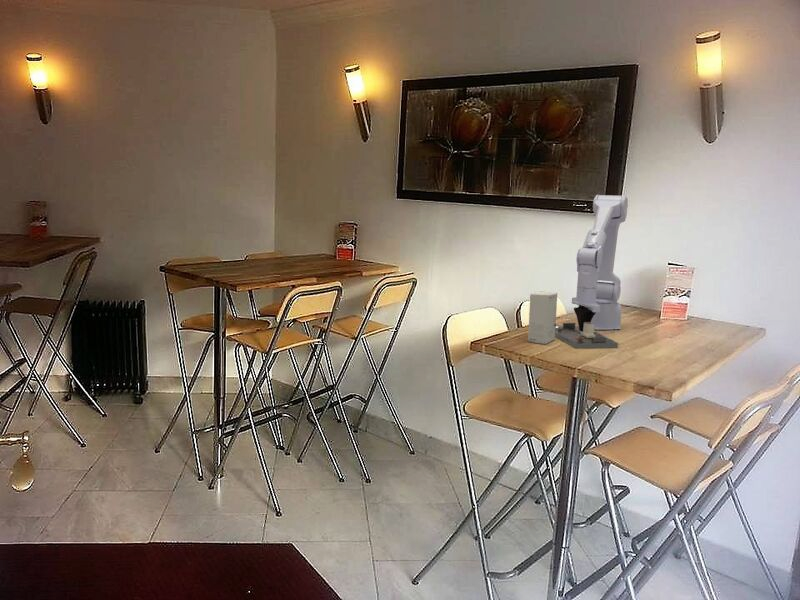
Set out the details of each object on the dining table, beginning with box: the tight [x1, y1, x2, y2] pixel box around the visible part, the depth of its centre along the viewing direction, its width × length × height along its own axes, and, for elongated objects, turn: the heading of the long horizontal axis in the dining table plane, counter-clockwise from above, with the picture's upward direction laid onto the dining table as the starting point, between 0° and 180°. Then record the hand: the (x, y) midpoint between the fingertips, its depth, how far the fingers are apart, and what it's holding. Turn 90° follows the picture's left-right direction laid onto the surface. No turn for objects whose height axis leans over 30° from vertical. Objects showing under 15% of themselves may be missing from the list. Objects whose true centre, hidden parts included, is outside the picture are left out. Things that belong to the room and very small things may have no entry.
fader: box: [581, 322, 596, 338], centre depth 180 cm, size 3×4×4 cm, turn 10°
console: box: [555, 322, 619, 349], centre depth 184 cm, size 13×22×3 cm, turn 10°
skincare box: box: [527, 291, 558, 345], centre depth 179 cm, size 8×6×15 cm
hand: (583, 330), depth 184 cm, fingers closed
